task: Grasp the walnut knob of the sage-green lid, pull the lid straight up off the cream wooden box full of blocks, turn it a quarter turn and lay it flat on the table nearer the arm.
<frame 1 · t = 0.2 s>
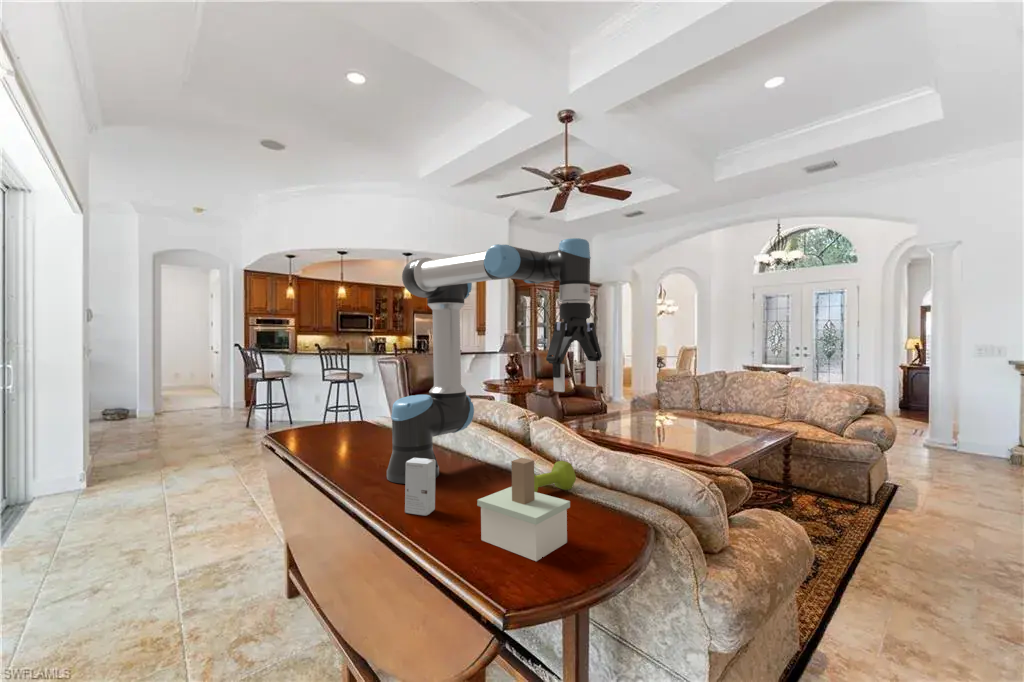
hand: (575, 388, 115), 28 cm above the table, fingers open, 13 cm apart
lid: (523, 506, 93), point 7 cm above the table, touching box
skincare box: (420, 512, 110), on the table
dumbbell: (545, 493, 122), on the table
box: (523, 541, 93), on the table
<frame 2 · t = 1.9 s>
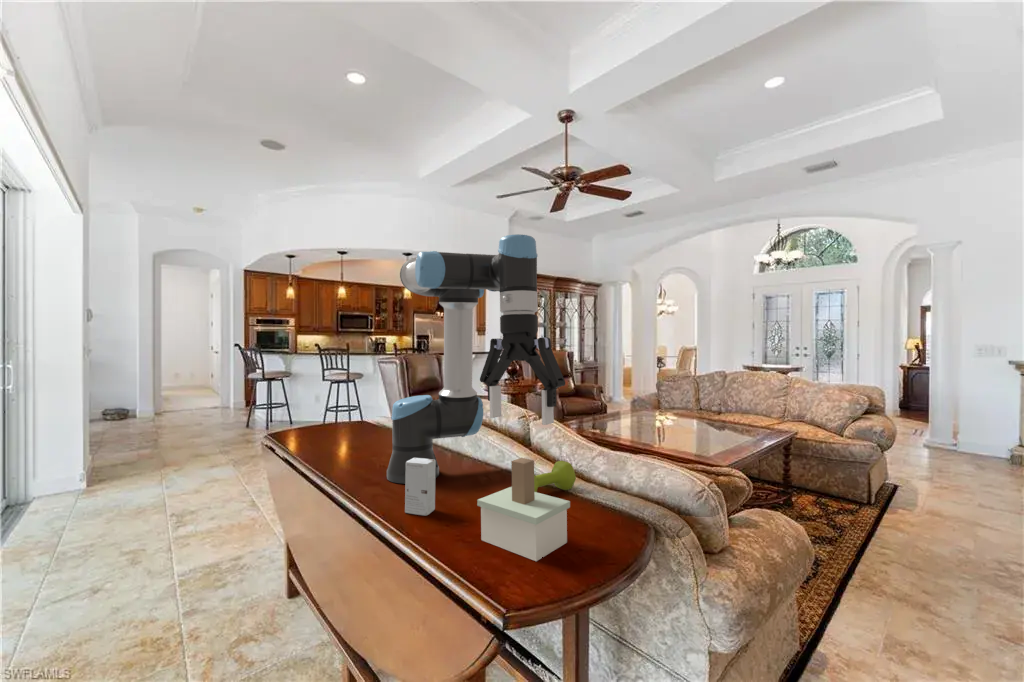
hand: (520, 420, 93), 24 cm above the table, fingers open, 13 cm apart
nothing on the table moved.
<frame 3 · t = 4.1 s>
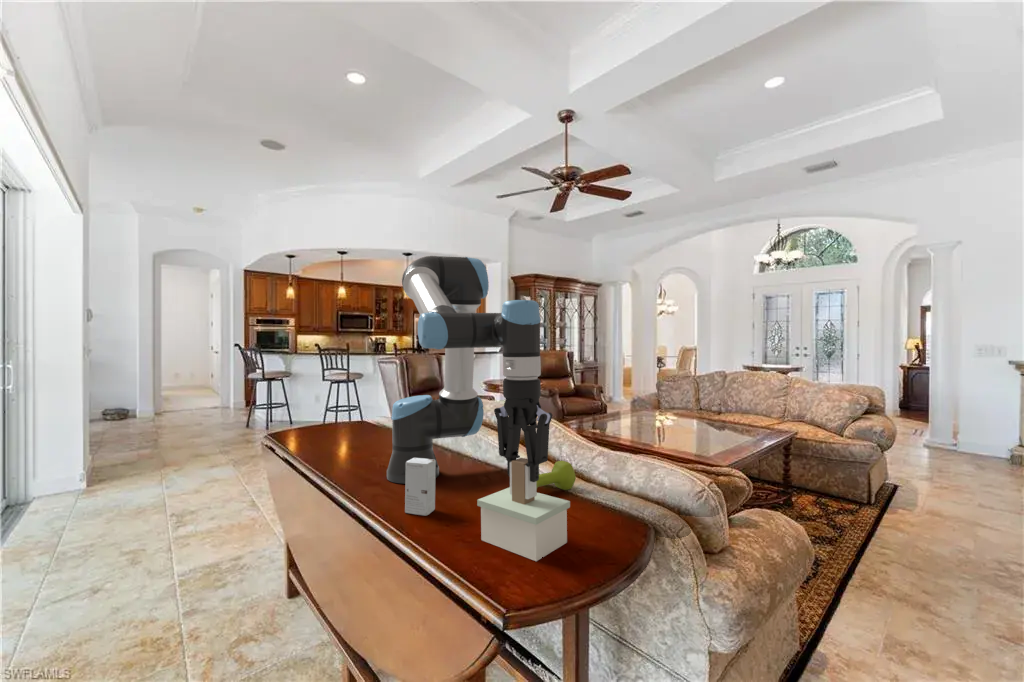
hand: (523, 494, 93), 9 cm above the table, fingers closed on lid, 3 cm apart
lid: (523, 506, 93), point 7 cm above the table, touching gripper
everything else where it was.
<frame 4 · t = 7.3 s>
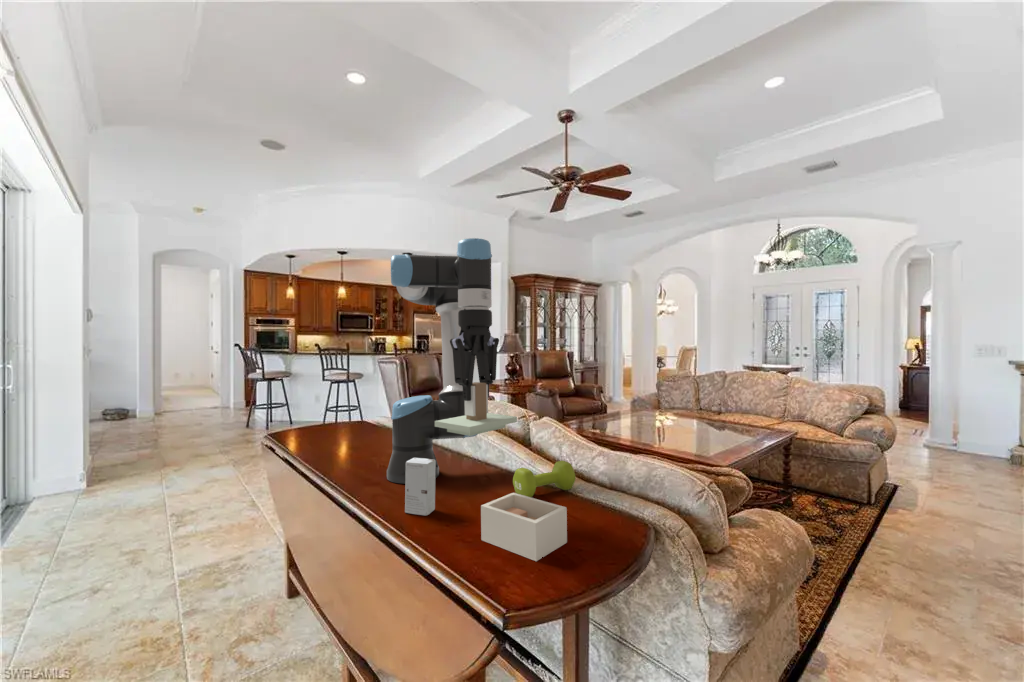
hand: (476, 413, 104), 24 cm above the table, fingers closed on lid, 3 cm apart
lid: (476, 424, 104), point 21 cm above the table, touching gripper
everything else where it was.
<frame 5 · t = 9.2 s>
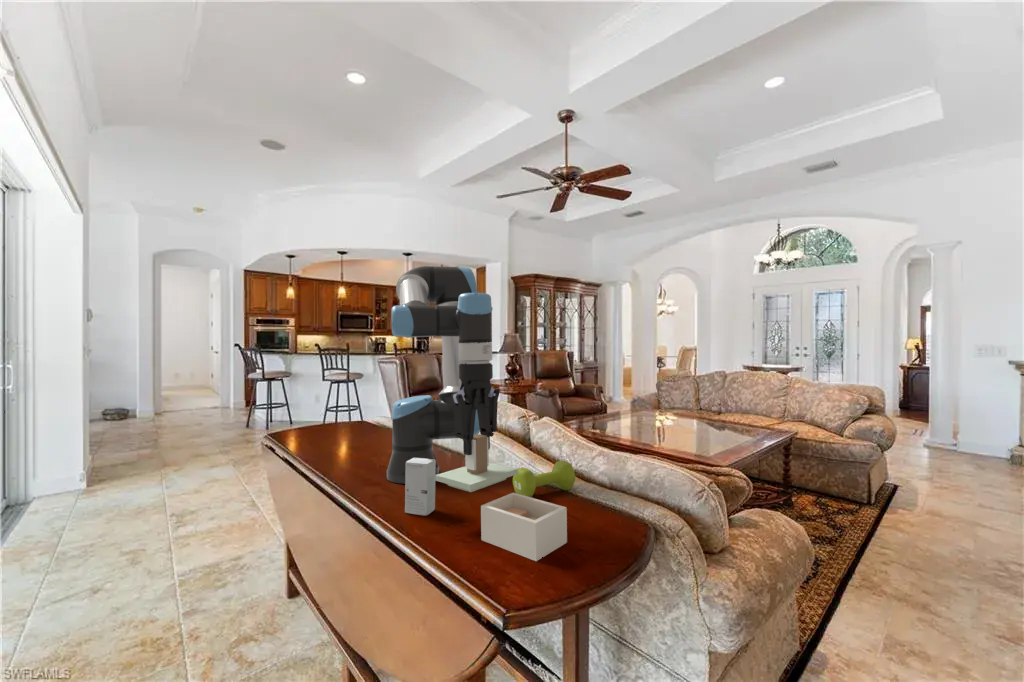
hand: (477, 466, 104), 12 cm above the table, fingers closed on lid, 3 cm apart
lid: (477, 477, 104), point 10 cm above the table, touching gripper
everything else where it was.
when the fingers open (5 cm above the table, at t = 10.8 s): lid drops 2 cm, point 1 cm above the table.
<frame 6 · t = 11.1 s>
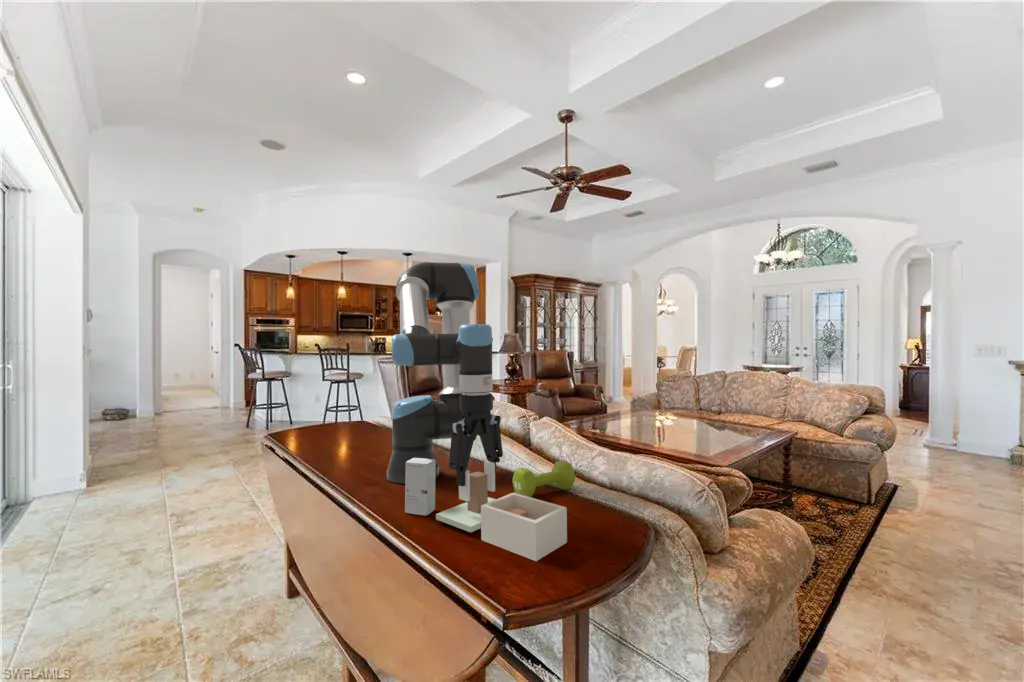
hand: (477, 494, 104), 6 cm above the table, fingers open, 7 cm apart
lid: (477, 515, 104), point 1 cm above the table
everything else where it was.
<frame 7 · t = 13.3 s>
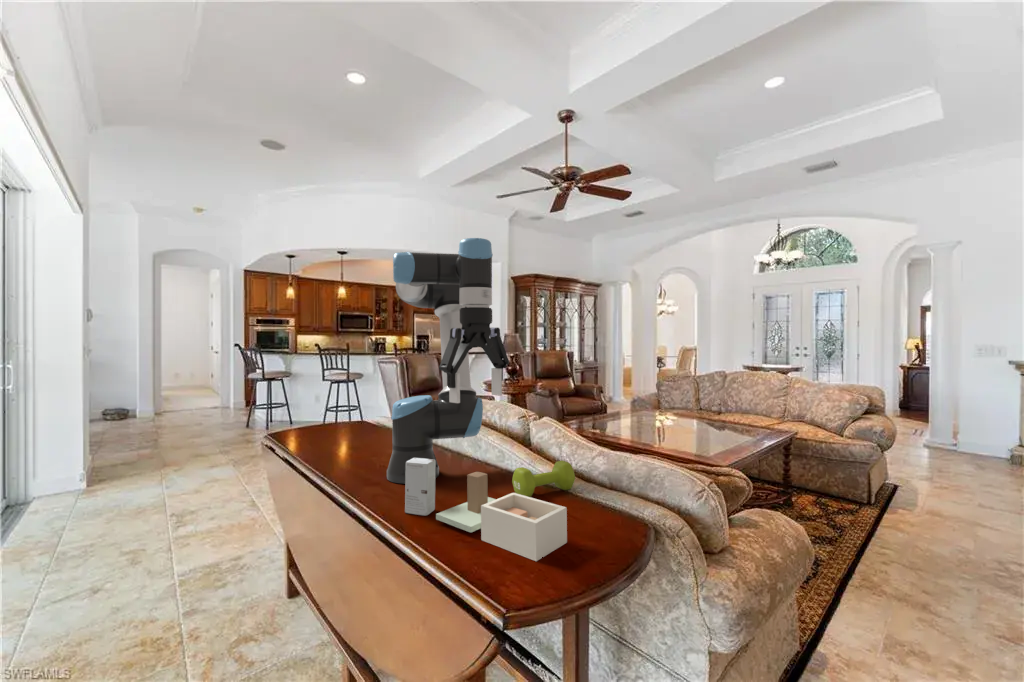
hand: (476, 398, 108), 27 cm above the table, fingers open, 13 cm apart
nothing on the table moved.
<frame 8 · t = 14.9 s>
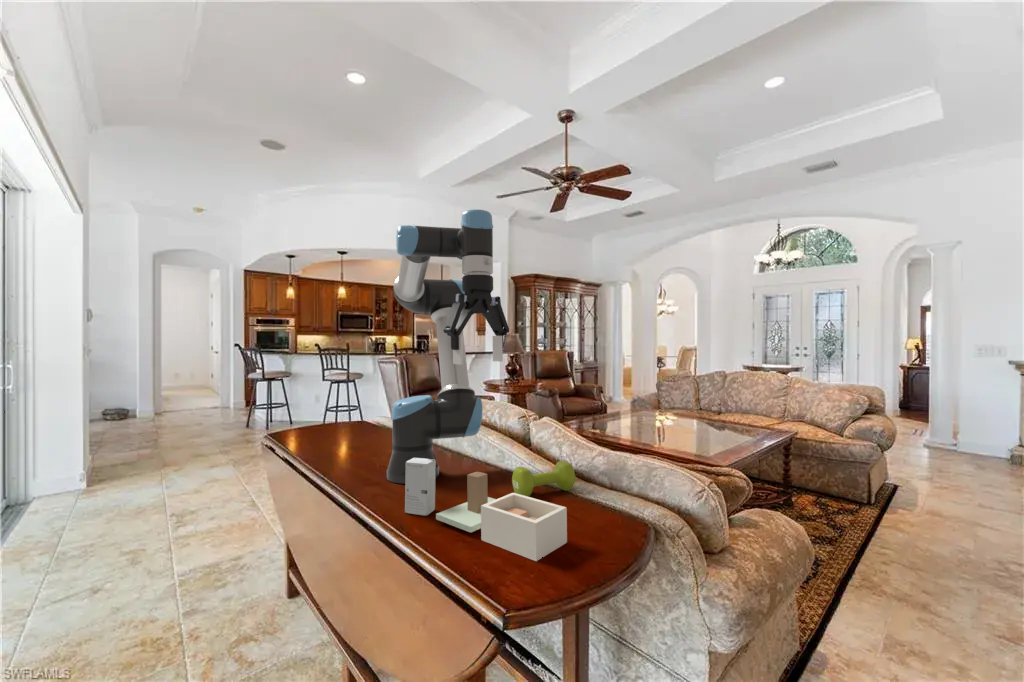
hand: (478, 362, 113), 35 cm above the table, fingers open, 13 cm apart
nothing on the table moved.
at the end: lid inside the target area (0.0 cm from its centre), point 1.0 cm above the table; lid tilted 0°; the gripper is holding nothing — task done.
